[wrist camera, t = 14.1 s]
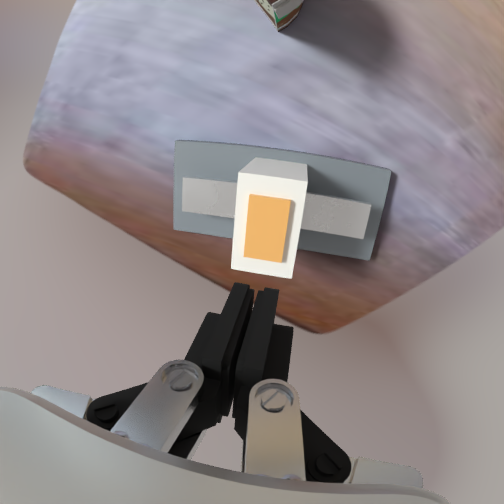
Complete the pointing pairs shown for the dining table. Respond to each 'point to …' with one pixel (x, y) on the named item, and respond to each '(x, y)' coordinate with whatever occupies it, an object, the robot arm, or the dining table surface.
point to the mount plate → (317, 182)
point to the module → (268, 216)
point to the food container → (280, 11)
